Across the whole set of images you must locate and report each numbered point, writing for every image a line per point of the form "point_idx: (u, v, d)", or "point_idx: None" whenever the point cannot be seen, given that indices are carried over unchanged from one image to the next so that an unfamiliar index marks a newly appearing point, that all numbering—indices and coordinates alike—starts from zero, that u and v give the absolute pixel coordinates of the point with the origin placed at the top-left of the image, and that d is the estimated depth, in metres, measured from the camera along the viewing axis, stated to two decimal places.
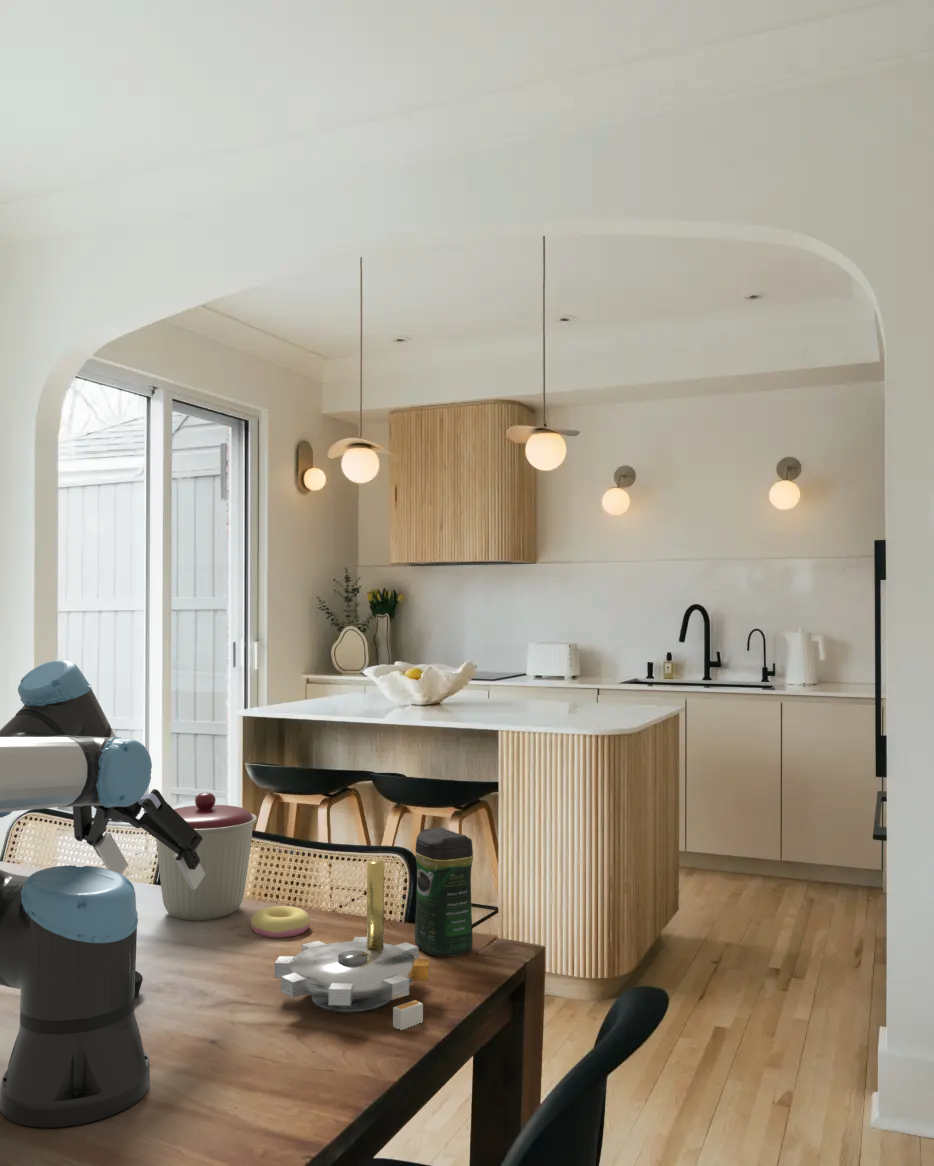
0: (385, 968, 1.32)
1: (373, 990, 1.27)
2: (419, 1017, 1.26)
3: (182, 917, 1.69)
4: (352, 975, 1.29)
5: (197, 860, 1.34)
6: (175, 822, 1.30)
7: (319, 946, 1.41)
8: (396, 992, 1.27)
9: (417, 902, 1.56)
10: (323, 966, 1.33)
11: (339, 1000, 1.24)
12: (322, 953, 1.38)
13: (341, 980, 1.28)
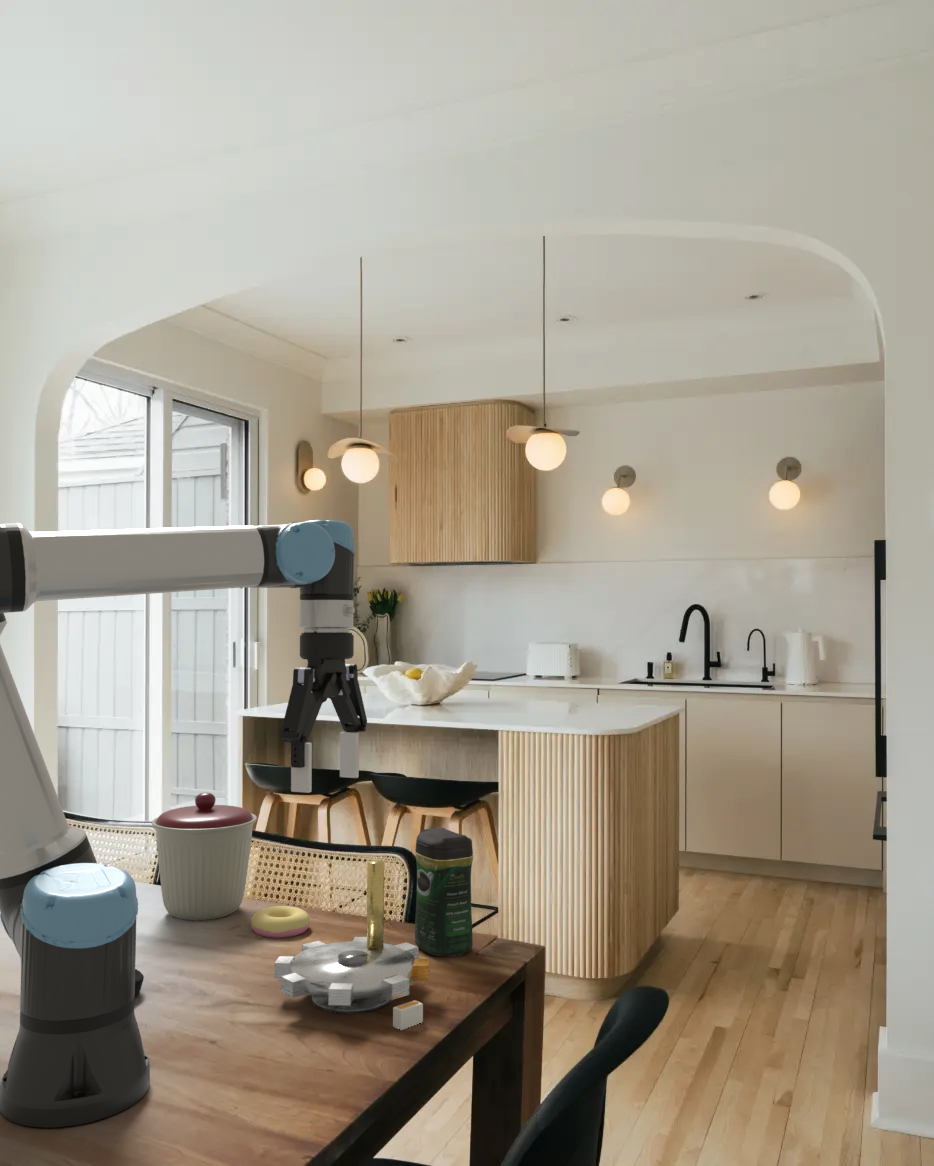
0: (385, 968, 1.32)
1: (373, 990, 1.27)
2: (419, 1017, 1.26)
3: (182, 917, 1.69)
4: (352, 975, 1.29)
5: (297, 761, 1.30)
6: (295, 704, 1.31)
7: (319, 946, 1.41)
8: (396, 992, 1.27)
9: (417, 902, 1.56)
10: (323, 966, 1.33)
11: (339, 1000, 1.24)
12: (322, 953, 1.38)
13: (341, 980, 1.28)
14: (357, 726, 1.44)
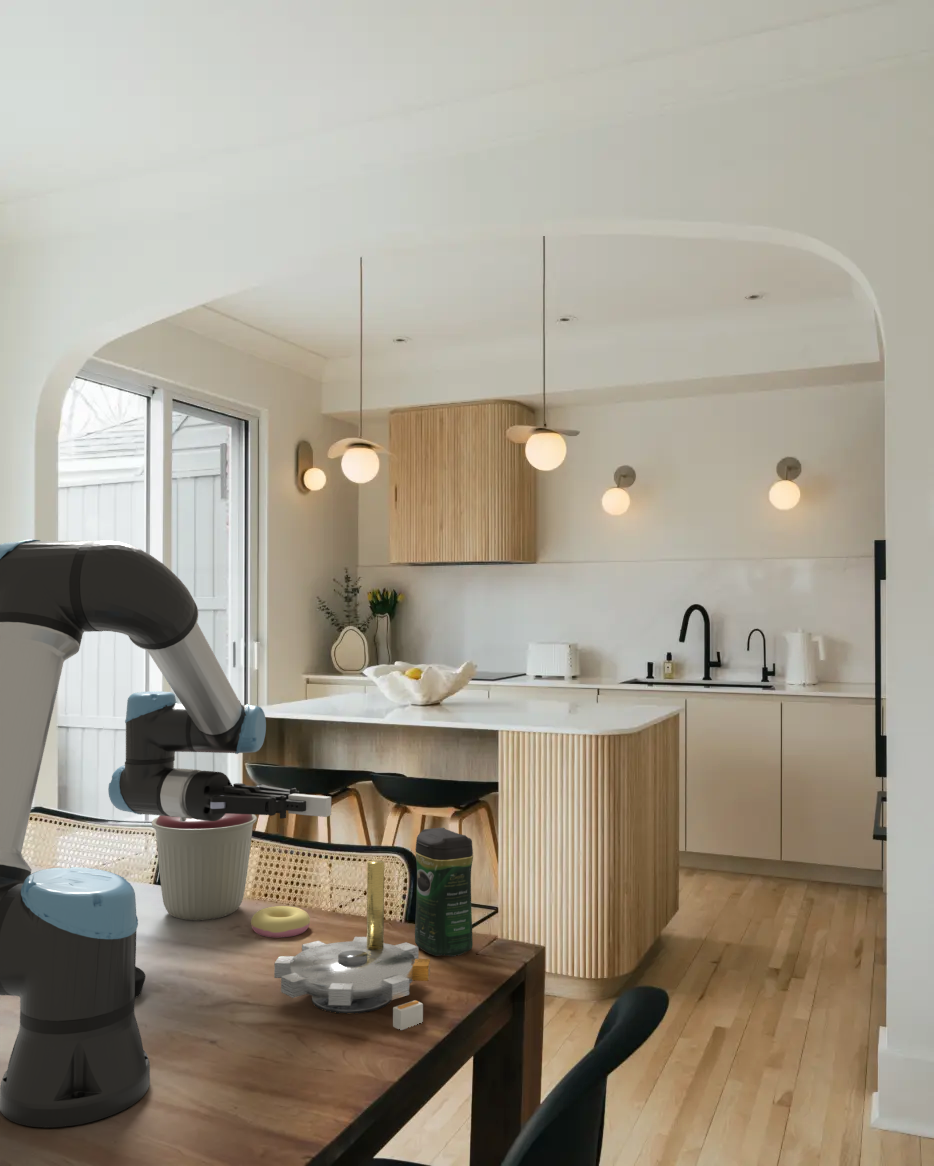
0: (385, 968, 1.32)
1: (373, 990, 1.27)
2: (419, 1017, 1.26)
3: (182, 917, 1.69)
4: (352, 975, 1.29)
5: None
6: None
7: (319, 946, 1.41)
8: (396, 992, 1.27)
9: (417, 902, 1.56)
10: (323, 966, 1.33)
11: (339, 1000, 1.24)
12: (322, 953, 1.38)
13: (341, 980, 1.28)
14: None
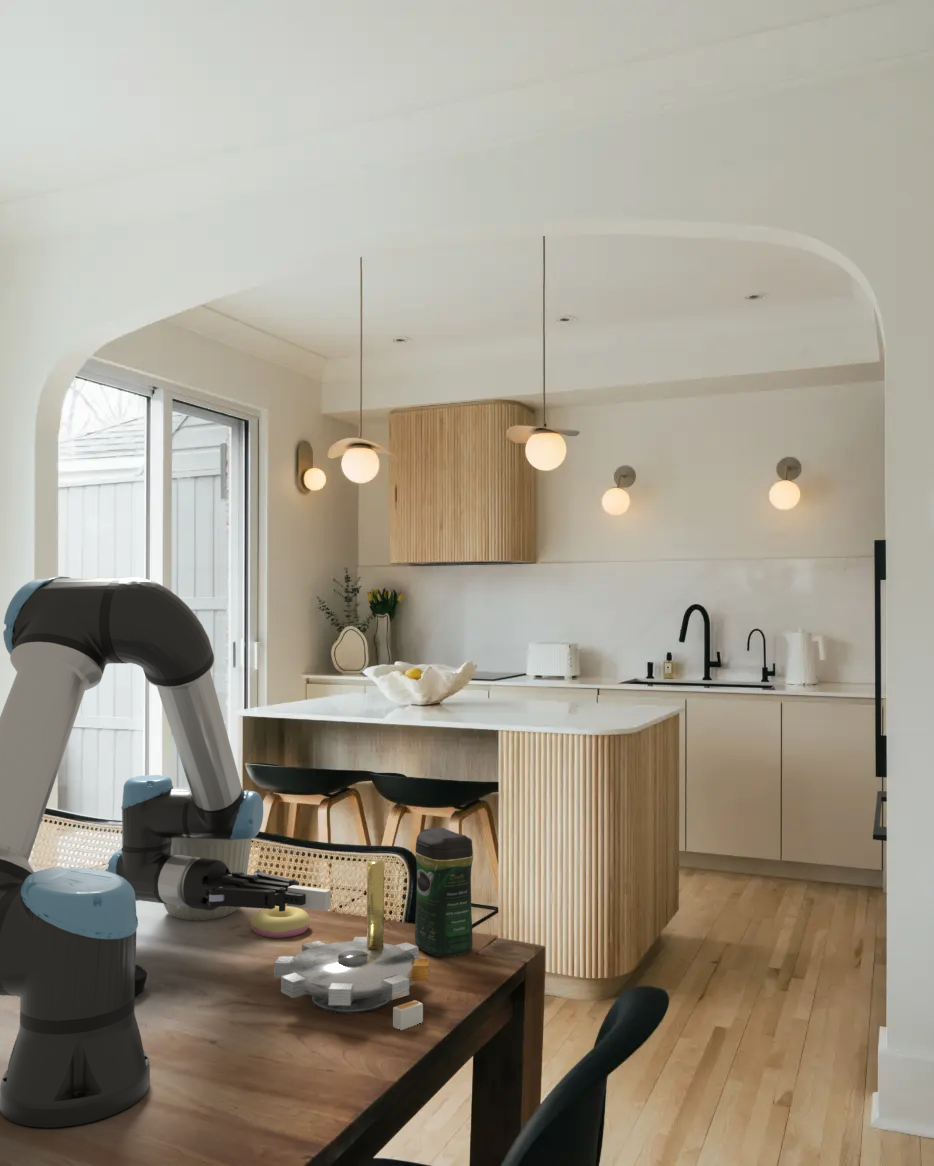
0: (385, 968, 1.32)
1: (373, 990, 1.27)
2: (419, 1017, 1.26)
3: (182, 917, 1.69)
4: (352, 975, 1.29)
5: None
6: None
7: (319, 946, 1.41)
8: (396, 992, 1.27)
9: (417, 902, 1.56)
10: (323, 966, 1.33)
11: (339, 1000, 1.24)
12: (322, 953, 1.38)
13: (341, 980, 1.28)
14: None
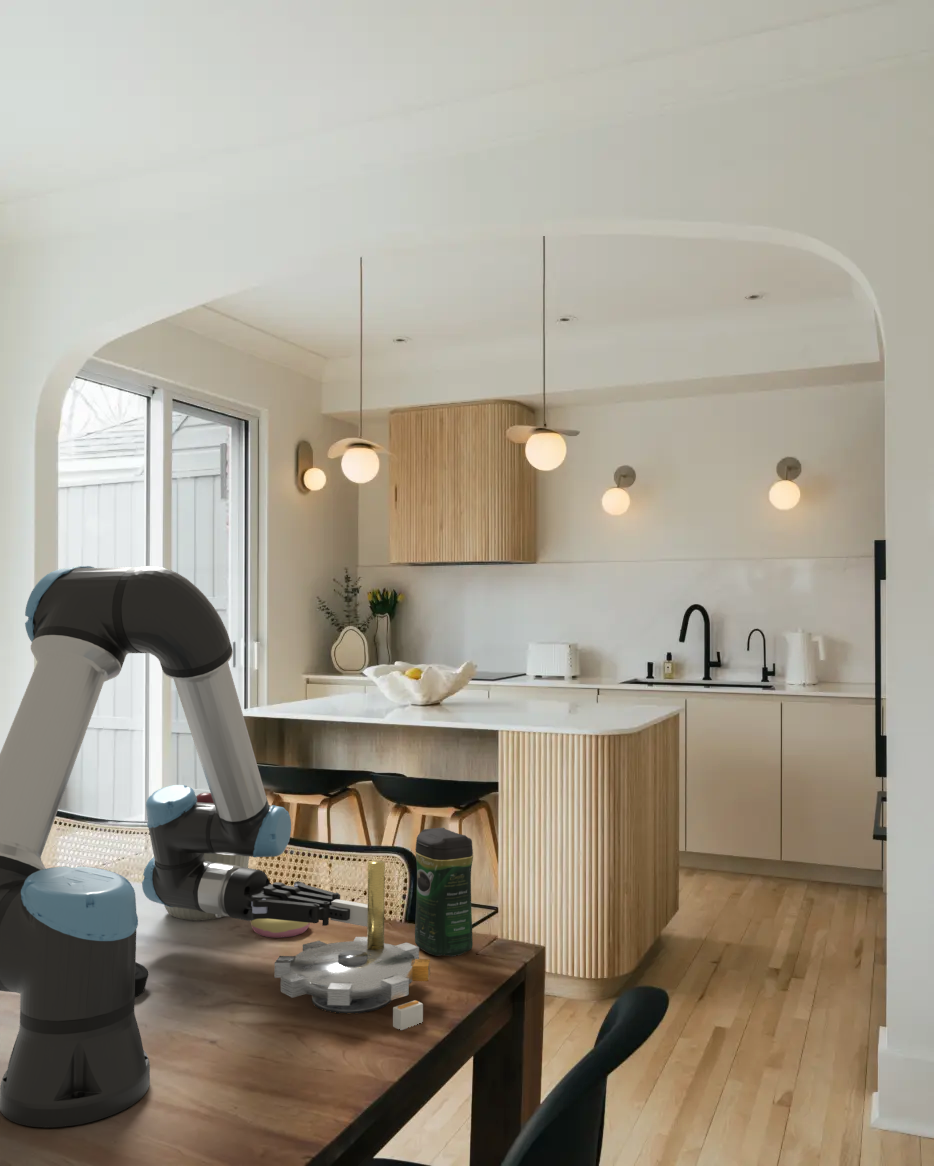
0: (385, 968, 1.32)
1: (372, 990, 1.27)
2: (419, 1017, 1.26)
3: (182, 917, 1.69)
4: (352, 975, 1.29)
5: None
6: None
7: (320, 946, 1.41)
8: (395, 992, 1.27)
9: (417, 902, 1.56)
10: (323, 966, 1.33)
11: (338, 1000, 1.24)
12: (323, 953, 1.38)
13: (341, 980, 1.28)
14: None
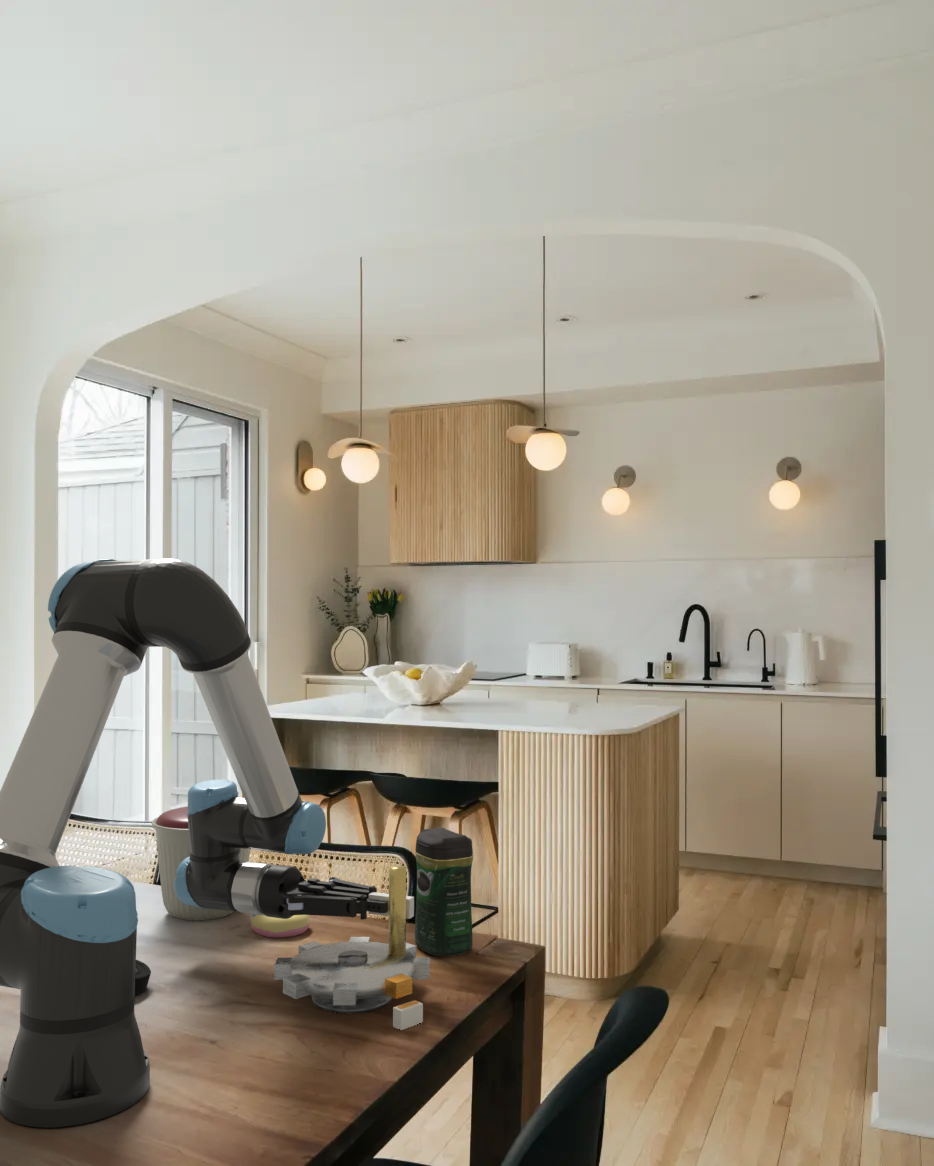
0: (361, 974, 1.30)
1: (326, 991, 1.27)
2: (419, 1017, 1.26)
3: (182, 917, 1.69)
4: (323, 973, 1.30)
5: None
6: None
7: (359, 941, 1.43)
8: (338, 998, 1.24)
9: (417, 902, 1.56)
10: (323, 958, 1.36)
11: (289, 991, 1.27)
12: (347, 948, 1.40)
13: (308, 973, 1.30)
14: None
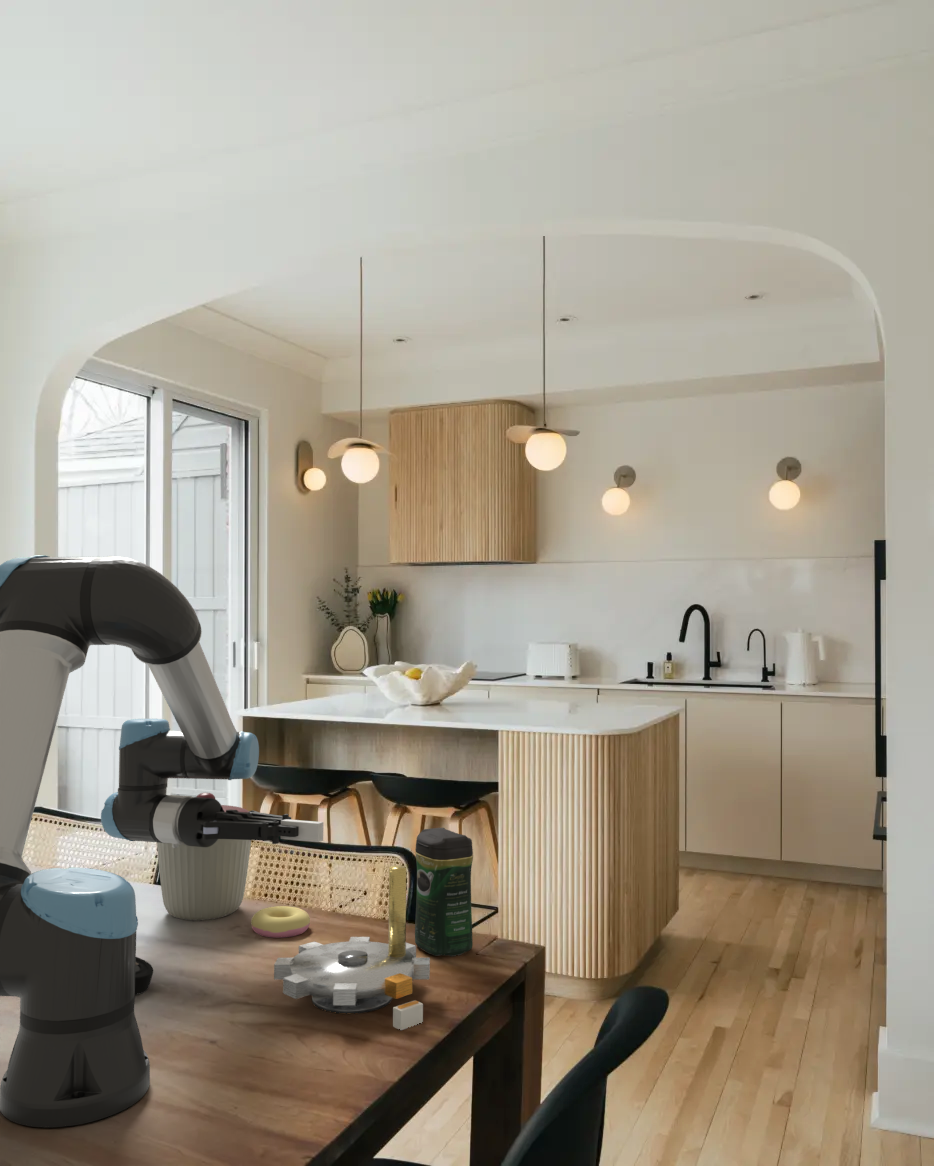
0: (361, 974, 1.30)
1: (326, 991, 1.27)
2: (419, 1017, 1.26)
3: (182, 917, 1.69)
4: (323, 973, 1.30)
5: None
6: None
7: (359, 941, 1.43)
8: (338, 998, 1.24)
9: (417, 902, 1.56)
10: (323, 958, 1.36)
11: (289, 991, 1.27)
12: (347, 948, 1.40)
13: (308, 973, 1.30)
14: None
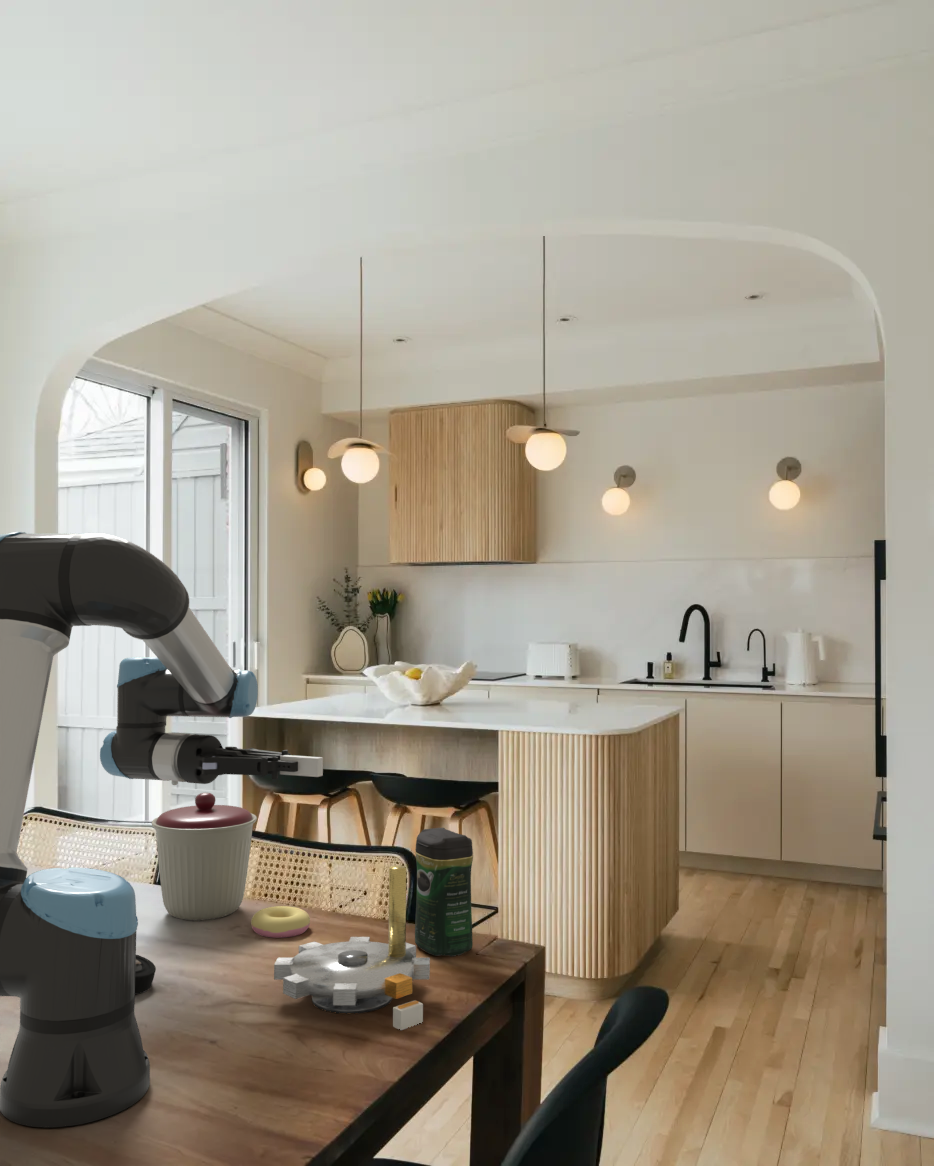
0: (361, 974, 1.30)
1: (326, 991, 1.27)
2: (419, 1017, 1.26)
3: (182, 917, 1.69)
4: (323, 973, 1.30)
5: None
6: None
7: (359, 941, 1.43)
8: (338, 998, 1.24)
9: (417, 902, 1.56)
10: (323, 958, 1.36)
11: (289, 991, 1.27)
12: (347, 948, 1.40)
13: (308, 973, 1.30)
14: None
